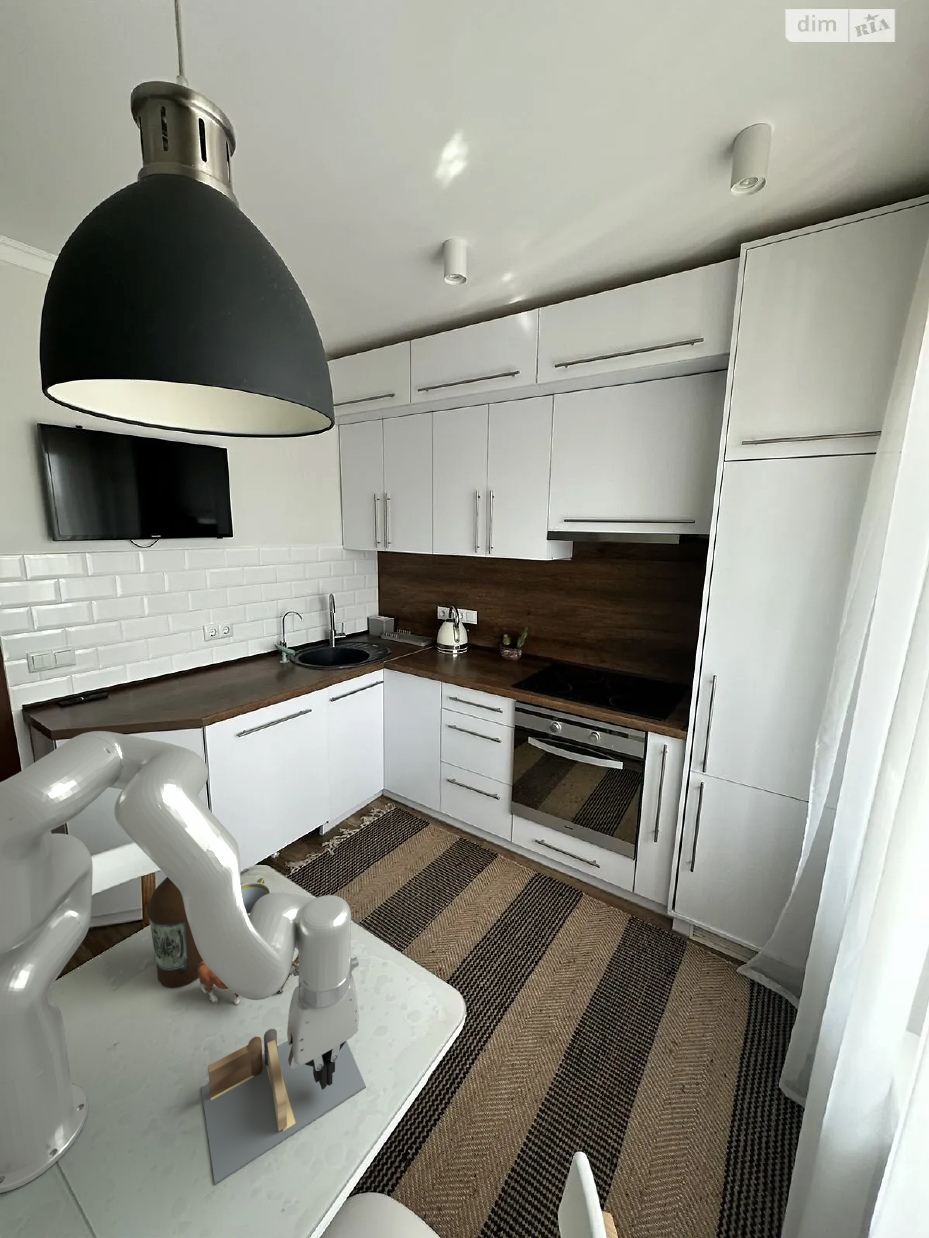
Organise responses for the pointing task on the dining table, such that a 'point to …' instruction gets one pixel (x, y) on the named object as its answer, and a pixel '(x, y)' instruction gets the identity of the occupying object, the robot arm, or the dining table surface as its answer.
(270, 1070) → the tan wooden board
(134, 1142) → the dining table surface
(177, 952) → the olive oil
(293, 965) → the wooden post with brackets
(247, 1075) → the fence section
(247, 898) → the ceramic cup
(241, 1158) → the card
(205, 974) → the bull figurine
